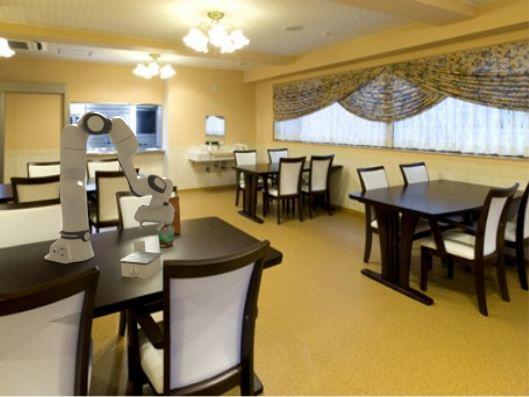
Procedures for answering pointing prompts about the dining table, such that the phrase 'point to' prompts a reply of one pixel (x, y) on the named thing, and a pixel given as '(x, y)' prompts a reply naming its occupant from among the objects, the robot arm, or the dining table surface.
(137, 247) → the steel weight
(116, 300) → the dining table surface
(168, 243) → the food container
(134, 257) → the pan
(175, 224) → the coffee package
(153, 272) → the scale
